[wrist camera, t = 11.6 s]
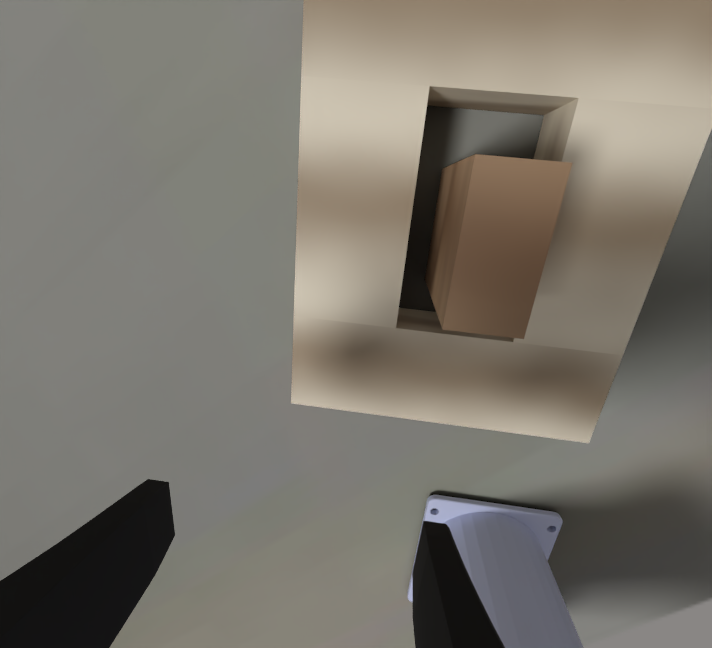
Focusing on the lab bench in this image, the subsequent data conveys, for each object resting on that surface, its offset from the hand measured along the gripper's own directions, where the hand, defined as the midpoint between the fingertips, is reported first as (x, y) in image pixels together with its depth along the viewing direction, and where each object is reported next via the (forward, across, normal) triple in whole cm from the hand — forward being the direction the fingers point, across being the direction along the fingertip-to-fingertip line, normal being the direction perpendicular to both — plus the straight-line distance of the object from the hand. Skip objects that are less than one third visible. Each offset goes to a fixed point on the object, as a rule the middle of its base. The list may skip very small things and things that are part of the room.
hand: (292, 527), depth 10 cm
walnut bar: (+10, -5, -8) cm, 14 cm away
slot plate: (+10, -5, -8) cm, 14 cm away
